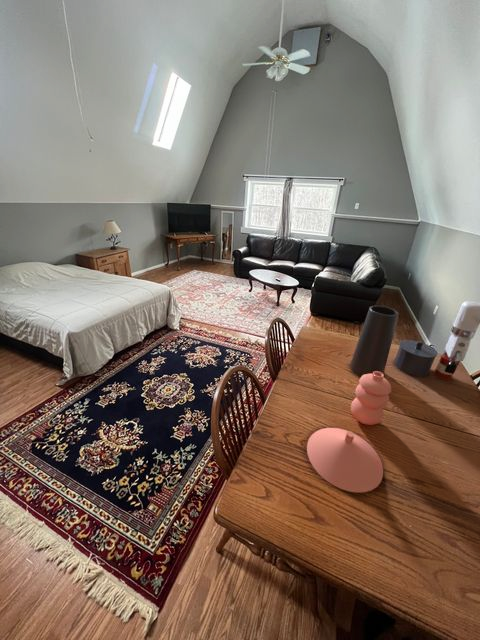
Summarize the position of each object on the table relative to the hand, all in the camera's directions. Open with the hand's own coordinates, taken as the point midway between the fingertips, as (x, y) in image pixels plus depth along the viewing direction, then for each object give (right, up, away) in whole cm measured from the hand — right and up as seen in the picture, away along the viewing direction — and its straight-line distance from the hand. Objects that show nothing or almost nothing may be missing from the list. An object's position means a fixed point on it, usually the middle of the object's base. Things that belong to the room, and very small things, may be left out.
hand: (447, 366), depth 116 cm
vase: (-34, -2, +3) cm, 34 cm away
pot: (-11, -1, +7) cm, 13 cm away
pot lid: (-11, +7, +3) cm, 13 cm away
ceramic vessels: (-55, -18, -32) cm, 66 cm away
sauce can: (0, -4, +2) cm, 4 cm away
